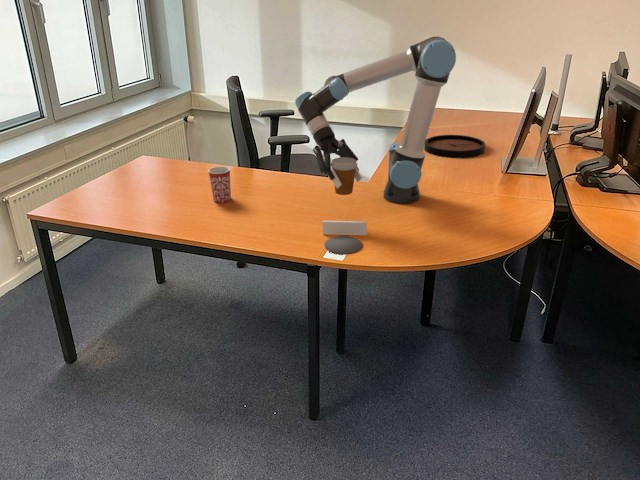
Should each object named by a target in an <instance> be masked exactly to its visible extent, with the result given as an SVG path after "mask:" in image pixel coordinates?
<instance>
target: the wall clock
mask: <svg viewBox="0 0 640 480" xmlns="http://www.w3.org/2000/svg"><path fill="white" fill-rule="evenodd" d="M423 151H425V152H426V153H428V154H429V155H432V156H436V157H440V158H447V159H470V158H475V157H478V156H482V155H483V154H485V152H486V142H485V141H483V139H480V138H477V137H474V136H470V135H461V134H440V135H434V136H430V137H428V138H426V140H425V144H424V147H423Z"/></svg>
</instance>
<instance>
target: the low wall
mask: <svg viewBox="0 0 640 480" xmlns="http://www.w3.org/2000/svg"><path fill="white" fill-rule="evenodd" d="M321 226H322V235H329V236H333V235H334V236H336V235H337V236H367V235H368V221H365V220H322V225H321Z"/></svg>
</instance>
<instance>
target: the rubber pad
mask: <svg viewBox="0 0 640 480" xmlns="http://www.w3.org/2000/svg"><path fill="white" fill-rule="evenodd" d="M362 248H363V242H362V240H360V239H358V238H356V237H354V236H351V235H337V236H333V237H330V238H328V239H327V240H326V241H325V242H324V249H326V250H327V251H328V252H331V253H333V254H337V255H351V254H354V253H357V252H358V251H360V250H362Z"/></svg>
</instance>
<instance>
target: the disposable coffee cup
mask: <svg viewBox="0 0 640 480" xmlns="http://www.w3.org/2000/svg"><path fill="white" fill-rule="evenodd" d="M356 167H358V162H356V160H355V159H353V158H349V157H340V156H339V157H336V158H333V159H332V160H331V170H332V169H334V171H335V173H336V175H337V177H338V178H339V180H340V182H341V184H342V185H341V186H340V187H339V188H336V186H335V185H334V192H335V194H337V195H339V196H348V195H351V194H352V193H353V190H354V189H353V188H354V182H355V171H356Z"/></svg>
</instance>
